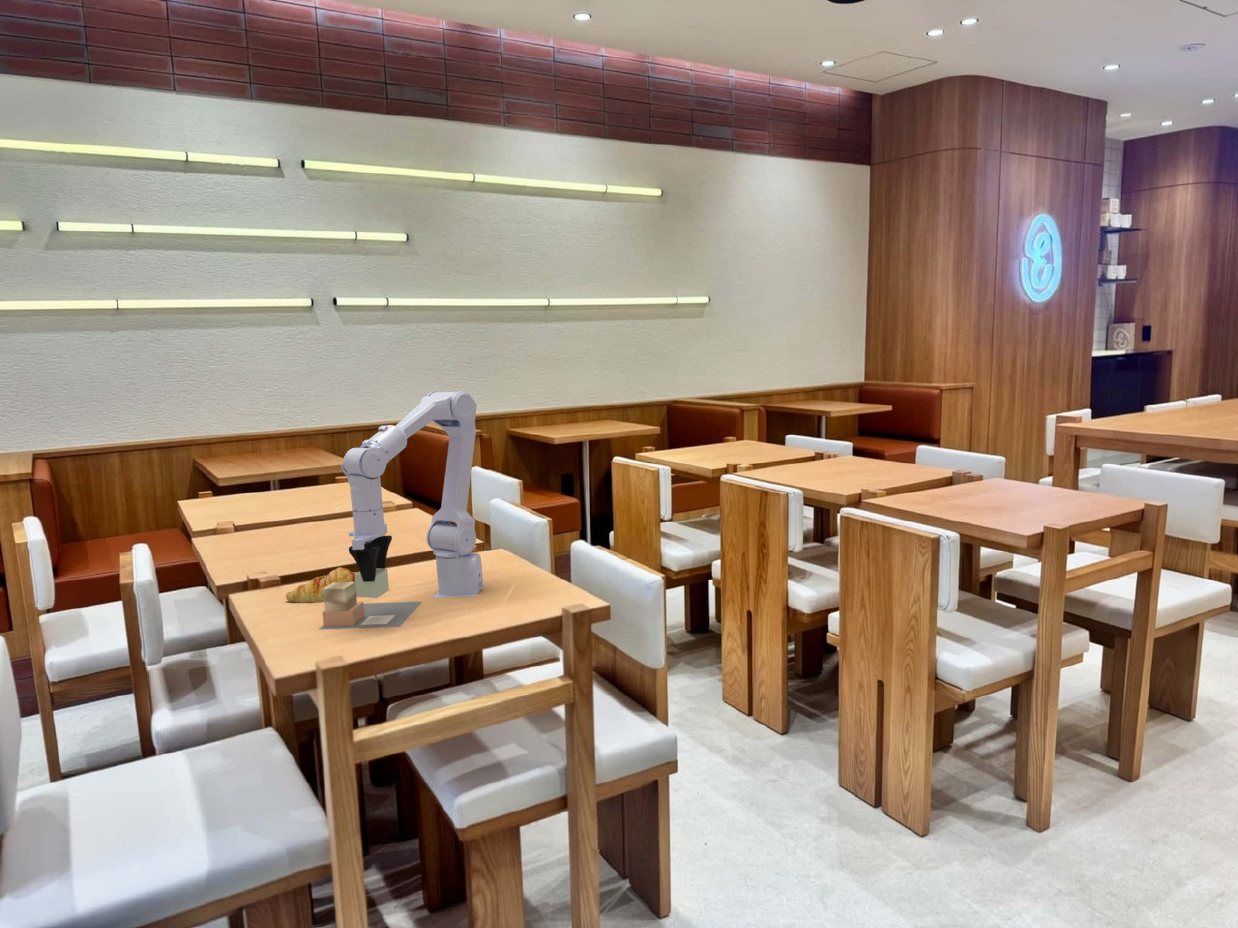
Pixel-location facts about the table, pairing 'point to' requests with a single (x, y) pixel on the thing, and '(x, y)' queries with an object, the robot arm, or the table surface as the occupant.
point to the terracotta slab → (344, 616)
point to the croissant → (319, 586)
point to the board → (383, 615)
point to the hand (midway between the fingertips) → (374, 577)
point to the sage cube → (372, 584)
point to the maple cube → (339, 596)
